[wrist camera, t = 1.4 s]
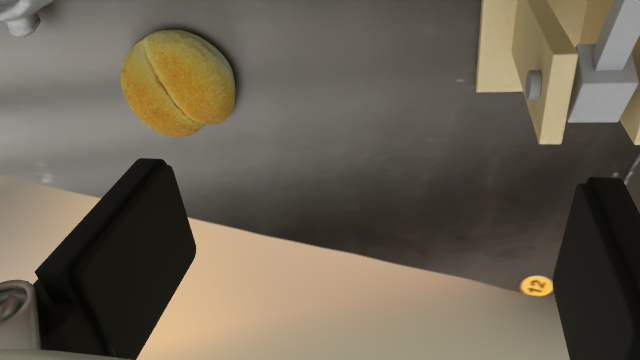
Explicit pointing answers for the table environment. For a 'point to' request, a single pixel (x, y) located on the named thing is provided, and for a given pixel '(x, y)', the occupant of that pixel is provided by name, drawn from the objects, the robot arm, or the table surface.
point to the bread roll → (177, 82)
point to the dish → (21, 15)
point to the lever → (607, 68)
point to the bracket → (544, 57)
